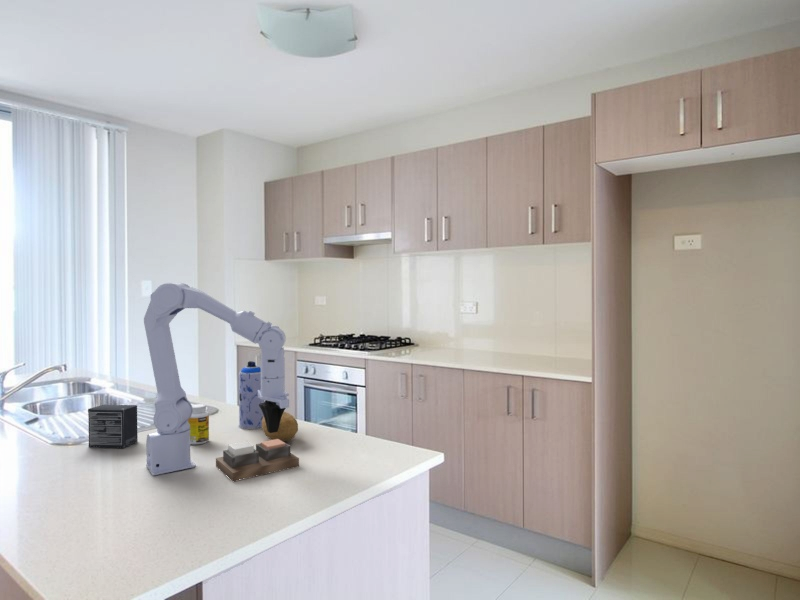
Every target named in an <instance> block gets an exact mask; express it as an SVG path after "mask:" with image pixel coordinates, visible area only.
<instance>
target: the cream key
mask: <svg viewBox="0 0 800 600" xmlns="http://www.w3.org/2000/svg"><path fill="white" fill-rule="evenodd" d="M227 448H228V449H227V450H228V452H229V453H230V454H231V455H233V456H234V457H235V456H239V455H244V454H249V453H254V449H255V446H254V445H253V444H252V443H251V442H249V441H248V440H247V441H239V442H236V443H235V442H234V443H231V444H228V445H227Z"/></svg>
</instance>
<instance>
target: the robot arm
mask: <svg viewBox="0 0 800 600" xmlns="http://www.w3.org/2000/svg"><path fill="white" fill-rule="evenodd" d="M149 296H150V297H149V298H150V302H149V303H148V307H147V309H146V312H145V315H144V316H143V325H144V330H145V335H146V339H147V344H148V345H147V346H148V350H149V356H150V361H151V366H152V367H151V368H152V372H153V376H154V382H155V386H156V398H155V401H154V409H155V410H154V415H153V418H152V419H153V421H152V422H153V425H154V427H155V428H156V430H157V431H155V432H151V433H148V434H147V435H146V465H145V466H146V468H147V469H148V471H149V472H150V474H151V475H152V476H158V475H162V474H167V473H172V472H177V471H181V470H186V469H191V468H196V467H197V465H196V464H195V463H194V461H193V460H192V459H191V444H190V425H189V423H188V420H189V419H190V417H191V416H192V412H193V408H192V405H193V404H192V403H191V402H190V401H189V399H188V398H187V394H186V391H185V390H184V389H183V388H182V386H181V381H180V376H179V375H180V374H179V370H178V365H177V360H176V355H175V349H174V343H173V338H172V334H171V332H172V331H171V327H170V323H171V322H172V321H173V319H174V318H176V316H177V315H178V314H179V313H180V312H181V311H183V310H185V309H199V310H201V311H203V312H205V313H208V314H210V315H212V316H214V317H216V318H218V319H220V320H222V321H224V322H226V323H227V324H229V326H230V328H231V331H232V332H233V333H235V334H237V335H238V336H240V337H243V338H244V339H246V340H248V341H250V342H252V343H254V344H258V346H259V349H260V351H261V352H260V355H261V357H260V368H261V390H258V398H260V399H262V400H264V403H260V404H259V407H260V408H261V410H262V412H263V415H264V418H265V422H266V427H267V430H268V432H269V433H273V432H278V429H279V425H280V421H281V417H282V414H283V412H285V410H286V409H288V408H290V399H289V398H288V397H290V392H287V391H286V390H285V389H286V388H285V387H286V386H285V385H286V384H285V383H286V377H285V375H286V374H285V373H286V371H285V370H286V367H285V366H286V365H285V364H286V363H285V361H286V358H285V347H284V345H285V344H286V340H287V336H286V333H285V332H284V330H283V329H282V328H280V327H279V326H276V325H273V323H272V322H270V321H267V322H266V321H264V320H263V319H261V318H259V317H257V316H256V315H255V314H256V313H255V312H253V311H251V310H249V311H246V310H242V311H236V310H234V309H233V308H230V307H229V306H227V305H226V304H224V303H222V302H221V301H219V300H217V299H215V298H214V297H213V296H210V295H209V294H208V293H206V292H204V291H202V290H200V289H197V288H195V287H193V286H189V285H188V284H186V283H185V282H184V283H182V282H177V283H173V282H165V283H162V284H160V285H159V286H157V288H156V289H154V291H153V292H152V293H151V294H150V295H149Z"/></svg>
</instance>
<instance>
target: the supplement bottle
mask: <svg viewBox="0 0 800 600" xmlns="http://www.w3.org/2000/svg"><path fill="white" fill-rule="evenodd" d="M191 405H192V408H193V412H192V416H191V417H190V419H189V420H188V423H189V425H190V445H203V444H206V443H208V442H209V439H210V413H209V412H208V411H207V406H206V404H205V403H204V404H202V403H201V404H200V403H198V404H191Z"/></svg>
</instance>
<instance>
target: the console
mask: <svg viewBox="0 0 800 600" xmlns="http://www.w3.org/2000/svg"><path fill="white" fill-rule="evenodd" d="M283 442H284V443H286V446H283V447H278V448H274V449H269V450H267V449H265V448H264V447H262V446H261V442H260V443H256V444H255V448H254V453H249V454H244V455H239V456H235V457H234V456H233V455H231V454H230V453H229V452H228V449H225V450H222V456H219V457H215V467H216V468H217V469H218V470H219V469H220V470H219V471H220V472H221V473H223V474H224V475H225V476H226V475H227V476H228V477H229V478H230V479H231V480H230V479H229V478H228V477H227V476H226V477H227V478H228V479H229V480H230V481H232V482H233V481H234V482H237V481H236V480H239V479H243V478H247V479H250V478H249V477H251V478H254V477H253V476H255V477H257V476H256V475H260V476H262V475H261V474H264V475H267V474H266V473H268V474H270V473H269V472H272V473H275V472H274V471H277V472H280V471H279V470H281V471H284V470H283V469H285V470H288V469H287V468H289V469H293V467H294V468H298V467H300V457H298V456H296V455H295V454H293V453H292V452H291V451H292V450H291V449H292V447H291V444H288V443H287V442H286V441H283ZM297 466H298V467H297ZM243 480H244V479H243ZM239 481H240V480H239Z"/></svg>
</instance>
